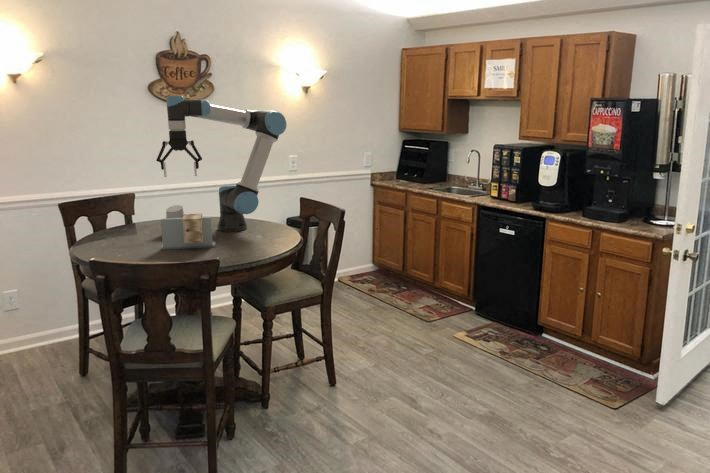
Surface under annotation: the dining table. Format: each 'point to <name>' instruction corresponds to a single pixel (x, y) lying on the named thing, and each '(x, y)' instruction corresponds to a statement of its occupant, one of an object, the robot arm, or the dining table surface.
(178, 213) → the smart speaker
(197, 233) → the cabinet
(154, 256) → the dining table surface
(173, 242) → the wall board
